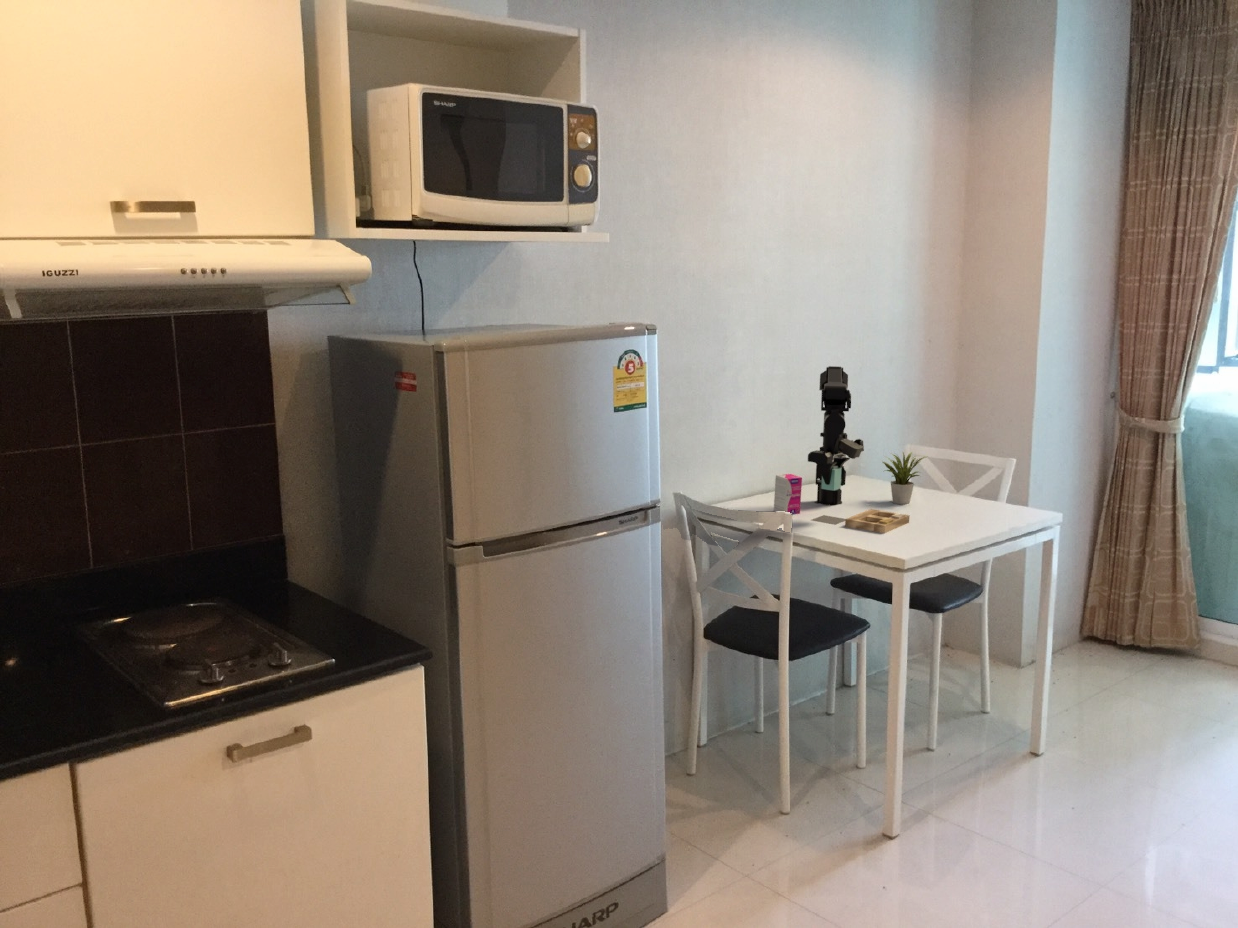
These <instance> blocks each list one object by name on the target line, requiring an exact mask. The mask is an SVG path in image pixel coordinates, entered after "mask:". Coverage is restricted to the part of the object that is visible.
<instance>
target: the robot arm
mask: <svg viewBox="0 0 1238 928" xmlns="http://www.w3.org/2000/svg"><path fill="white" fill-rule="evenodd" d="M848 386H849V374H848V373H846V372H845V371H844V367H842V366H831V365H829V366H826V368H825V370H824V371H823V372H821V373H820V374H819V390H818V391H821V397H820V398H821V400H820V404H821V405H820V411H821V412H822V411H823V412H824V413H823V430H822V431H823V432H820V433H819V435H820V436H819V437H822V445H821V446H820V447H819V450H814V451H813V450H812V451H810V452H809V453H808V454H807V462H808V463H814V464H816V468H815V485H816V486H817V494H816V501H814V502H813V503H815V504H817V505H818V504H819V505H820V504H821V505H825V506H831V507H833V506H836V505H841V504H842V503H843V501H842V489H841V488H840V489H837V490H834V491H833V490H826V489H821V486H822V477H823V479H824V482H825V484H827V485H829V484H830V480H831V474H832V468H833V466H834V465H835V466H838V468H842V469H841V487H843V486H845V485H846V478H847V477H846V476H847V470H846V469H845V466H844V464H845V463H847V461H850V459H852V460H855V459H857V458H860V456H861V453H862V452H864V450H865V448H864V447H865V445H864V440H862V438H857V439H855V440H853V439H852V440H850V439H849V438H848V434H847V433H846V432H845V429H846V420H845V418H846V417H845V412H849V411H850V409H851V408H852V394H851V391H850V390H849V389H848Z"/></svg>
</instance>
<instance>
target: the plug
mask: <svg viewBox="0 0 1238 928" xmlns="http://www.w3.org/2000/svg"><path fill="white" fill-rule="evenodd" d="M841 469H842V468H838V466H835V465H834V466H833V468H832V474H831V480H830V484H829V485H827V484H825V482H824V479H823V477H822V486H821V489H826V490H833V491H834V490H837V489H841V487H842V486H841Z"/></svg>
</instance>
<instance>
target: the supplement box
mask: <svg viewBox="0 0 1238 928" xmlns="http://www.w3.org/2000/svg"><path fill="white" fill-rule="evenodd" d="M774 480H775V481H774V482H775V483H774V499H773V512H774V511H785V512H790V513H792V515H798V514H799V515H800V514H801V500H802V486H803V485H802V483H803V478H802V477H801V476H798V475H795V474H792V473H788V474H787V473H786V474H775V479H774Z"/></svg>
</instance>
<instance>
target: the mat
mask: <svg viewBox="0 0 1238 928" xmlns="http://www.w3.org/2000/svg"><path fill="white" fill-rule="evenodd" d="M845 519H846V518H842V517H837V516H831V515H825V514H823V515H820V516H818V517H815V518H813V519H811V521H813V522H817V523H818V522H819V523H824V524H829V525H834V526H835V525H837V524H841V523H845Z"/></svg>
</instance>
